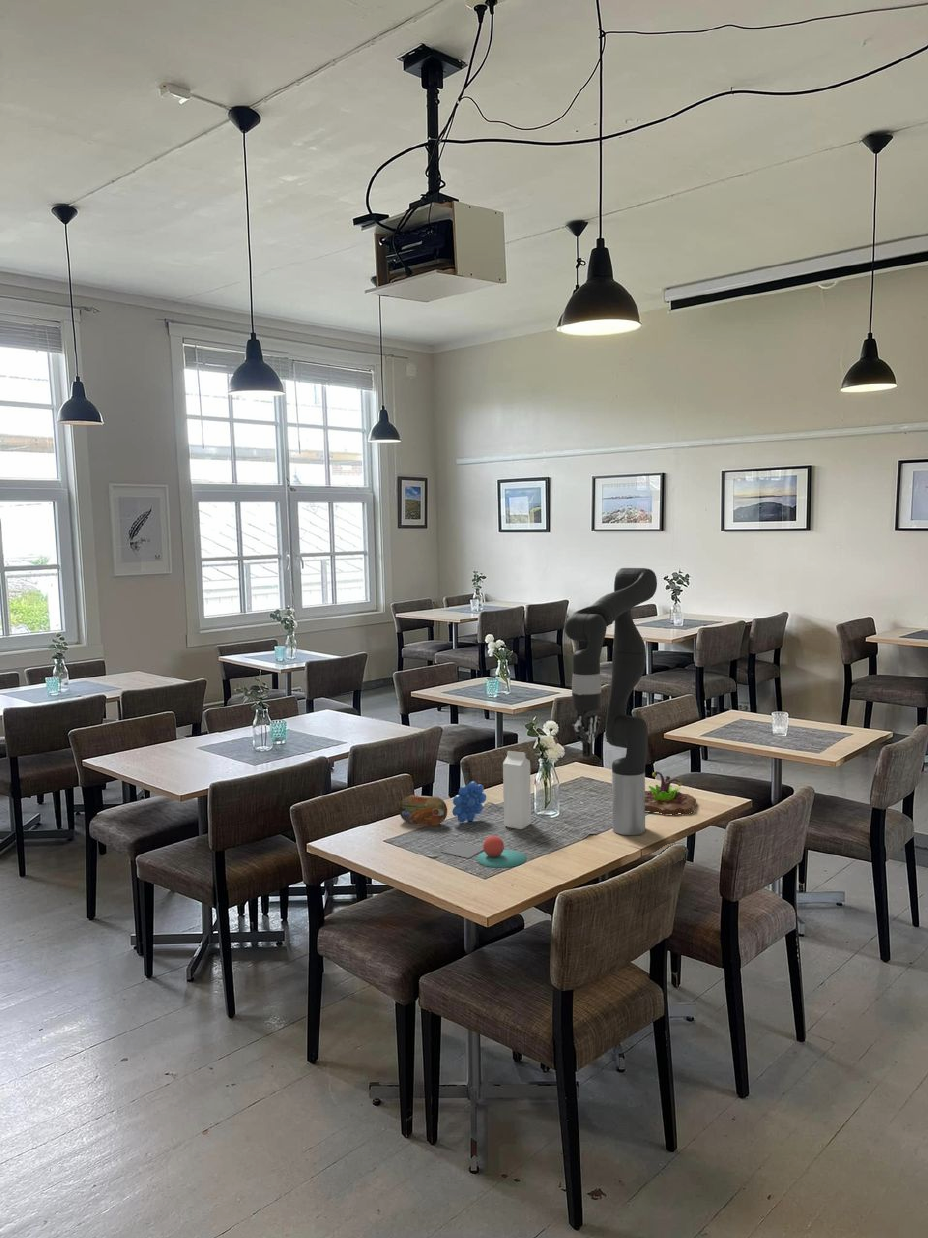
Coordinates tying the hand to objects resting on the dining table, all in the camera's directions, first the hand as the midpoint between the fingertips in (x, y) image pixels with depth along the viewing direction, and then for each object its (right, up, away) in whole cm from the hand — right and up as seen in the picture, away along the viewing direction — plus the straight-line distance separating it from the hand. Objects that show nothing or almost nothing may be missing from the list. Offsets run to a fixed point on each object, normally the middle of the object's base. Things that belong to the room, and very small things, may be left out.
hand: (587, 756), depth 227 cm
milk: (-16, -25, +30) cm, 42 cm away
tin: (-44, -26, +34) cm, 61 cm away
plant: (+30, -23, +46) cm, 60 cm away
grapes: (-31, -25, +35) cm, 53 cm away
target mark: (-22, -27, +3) cm, 35 cm away
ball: (-24, -25, +4) cm, 35 cm away
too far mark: (-32, -27, +9) cm, 43 cm away
